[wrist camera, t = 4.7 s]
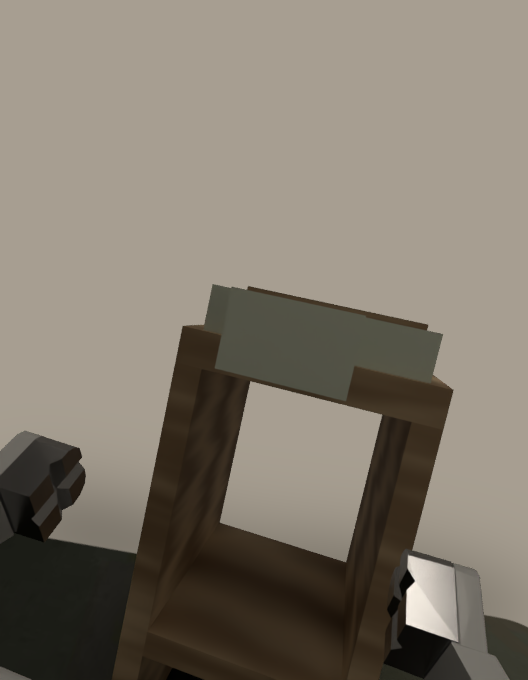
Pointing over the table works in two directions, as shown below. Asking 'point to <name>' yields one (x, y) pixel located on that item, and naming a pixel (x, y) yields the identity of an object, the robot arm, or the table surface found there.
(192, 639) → the rack
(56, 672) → the table surface
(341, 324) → the grey paddle board
